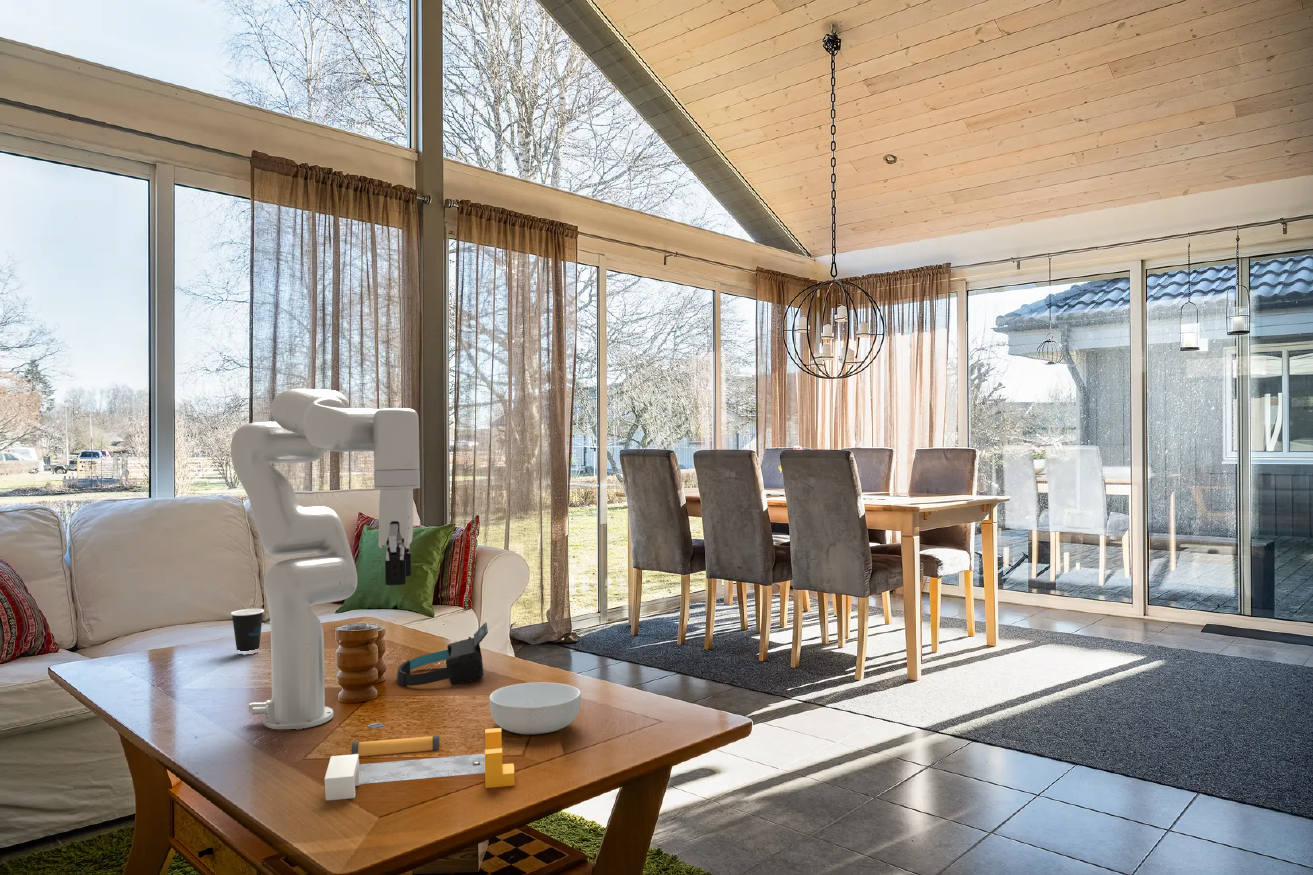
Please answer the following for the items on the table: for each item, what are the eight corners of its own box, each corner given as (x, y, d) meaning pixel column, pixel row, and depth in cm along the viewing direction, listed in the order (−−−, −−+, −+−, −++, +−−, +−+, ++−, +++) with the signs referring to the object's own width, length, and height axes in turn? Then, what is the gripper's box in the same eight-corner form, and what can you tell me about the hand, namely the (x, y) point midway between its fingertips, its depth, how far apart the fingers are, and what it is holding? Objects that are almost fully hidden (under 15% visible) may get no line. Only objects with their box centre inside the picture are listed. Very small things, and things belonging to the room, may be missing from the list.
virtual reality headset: (496, 678, 197) (488, 635, 196) (396, 702, 192) (387, 658, 192) (493, 658, 215) (486, 618, 215) (402, 680, 210) (394, 639, 210)
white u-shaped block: (326, 808, 129) (324, 778, 128) (332, 784, 135) (331, 756, 134) (354, 805, 130) (353, 776, 129) (360, 781, 135) (358, 754, 134)
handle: (351, 763, 147) (351, 745, 147) (354, 758, 150) (354, 739, 150) (438, 756, 150) (438, 737, 150) (439, 751, 153) (439, 733, 153)
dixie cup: (260, 655, 228) (260, 613, 229) (227, 657, 227) (227, 615, 227) (267, 649, 236) (267, 607, 236) (235, 651, 235) (235, 609, 235)
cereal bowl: (555, 751, 151) (554, 710, 151) (472, 742, 157) (471, 702, 157) (596, 721, 167) (595, 684, 167) (519, 714, 173) (518, 678, 173)
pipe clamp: (514, 794, 133) (513, 751, 133) (485, 797, 132) (484, 754, 132) (512, 766, 145) (512, 727, 145) (486, 768, 144) (485, 729, 144)
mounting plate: (339, 794, 134) (339, 784, 134) (348, 772, 143) (348, 764, 143) (485, 780, 138) (485, 771, 138) (486, 760, 147) (485, 752, 147)
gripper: (380, 479, 158) (382, 574, 158) (367, 482, 141) (369, 589, 141) (423, 478, 160) (425, 572, 160) (415, 481, 143) (417, 587, 143)
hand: (398, 580), depth 150 cm, fingers open, 9 cm apart
